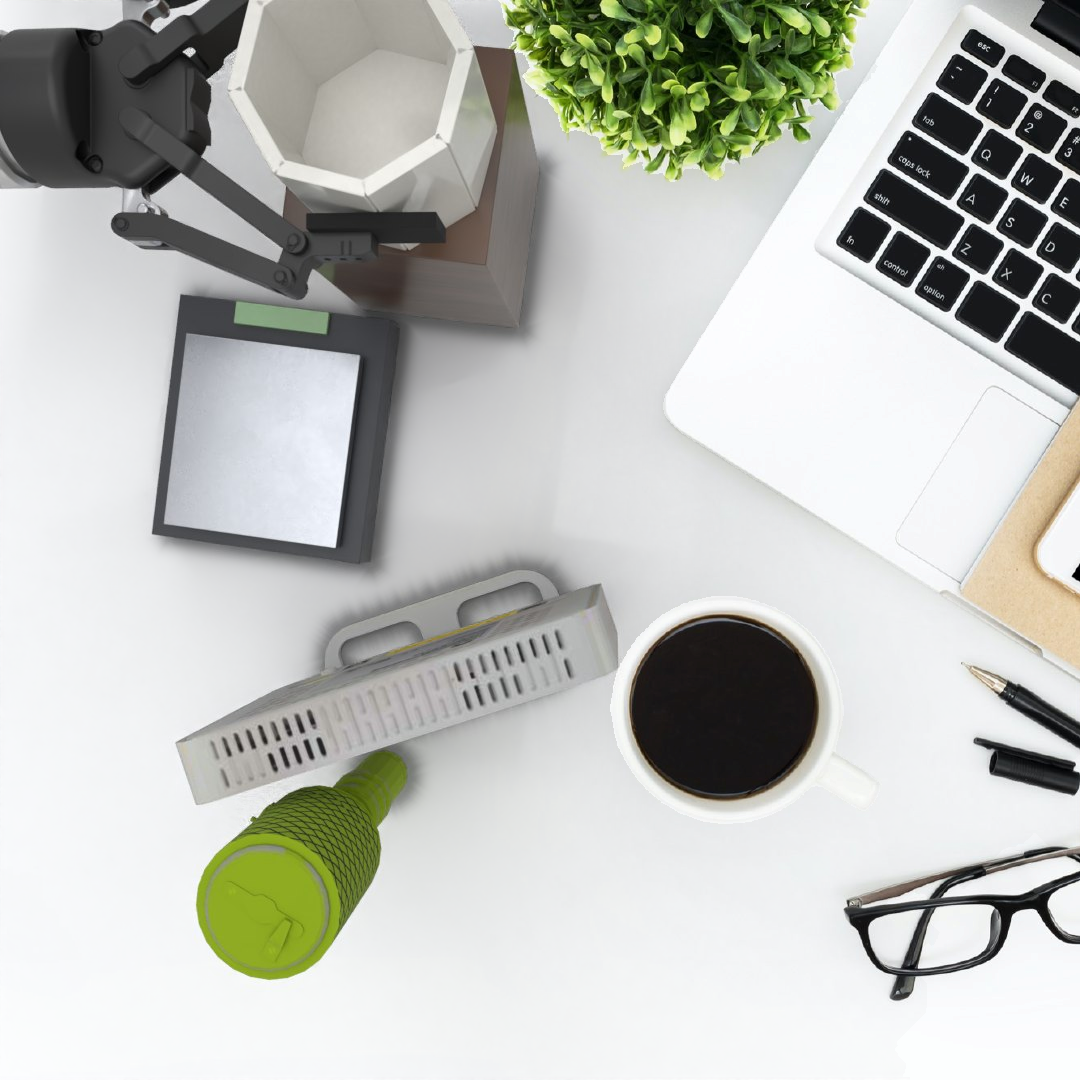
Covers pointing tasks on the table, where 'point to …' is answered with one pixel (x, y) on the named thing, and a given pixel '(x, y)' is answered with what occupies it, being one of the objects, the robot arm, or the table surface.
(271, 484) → the scale pan
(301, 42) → the cup
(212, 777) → the network device
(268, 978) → the microphone
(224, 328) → the scale
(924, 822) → the table surface
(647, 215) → the table surface
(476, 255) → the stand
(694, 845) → the table surface
